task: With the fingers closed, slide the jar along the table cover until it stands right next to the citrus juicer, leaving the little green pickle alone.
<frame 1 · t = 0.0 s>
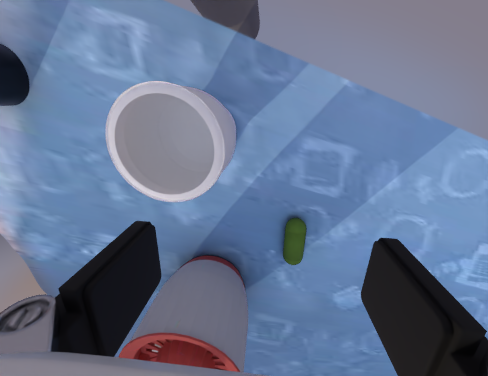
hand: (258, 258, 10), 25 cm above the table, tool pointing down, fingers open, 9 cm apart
citrus juicer: (208, 279, 43), on the table
jar: (208, 129, 33), on the table
water bottle: (3, 75, 34), on the table
pickle: (293, 236, 38), on the table
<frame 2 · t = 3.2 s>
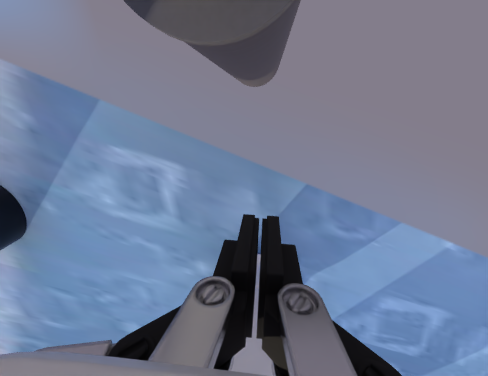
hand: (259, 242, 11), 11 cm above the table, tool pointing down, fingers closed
jar: (256, 280, 26), on the table
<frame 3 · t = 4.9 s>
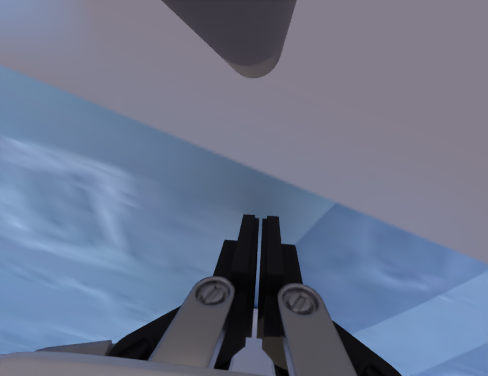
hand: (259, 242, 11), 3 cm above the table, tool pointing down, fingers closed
jar: (252, 342, 17), on the table
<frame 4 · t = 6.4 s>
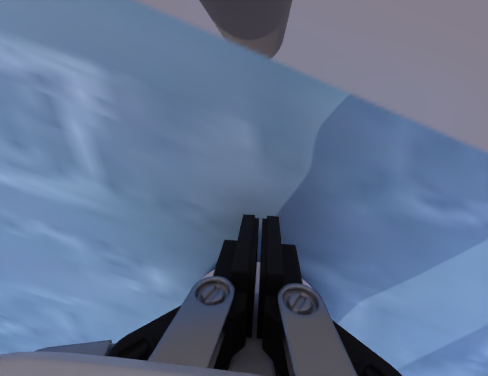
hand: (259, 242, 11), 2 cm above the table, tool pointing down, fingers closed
jar: (255, 309, 15), on the table, touching gripper
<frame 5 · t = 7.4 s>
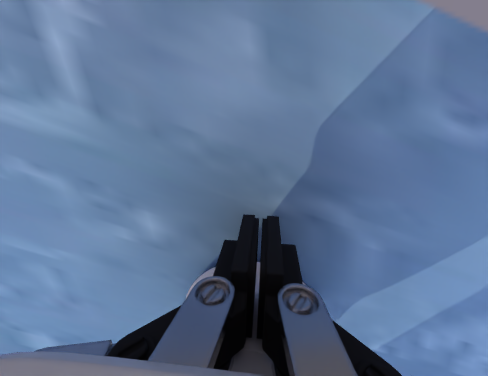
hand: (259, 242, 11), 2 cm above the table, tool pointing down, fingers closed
jar: (252, 309, 15), on the table, touching gripper
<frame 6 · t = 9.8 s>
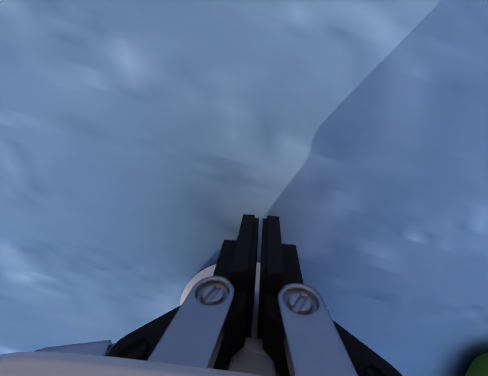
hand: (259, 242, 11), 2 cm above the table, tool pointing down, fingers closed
jar: (247, 309, 15), on the table, touching gripper
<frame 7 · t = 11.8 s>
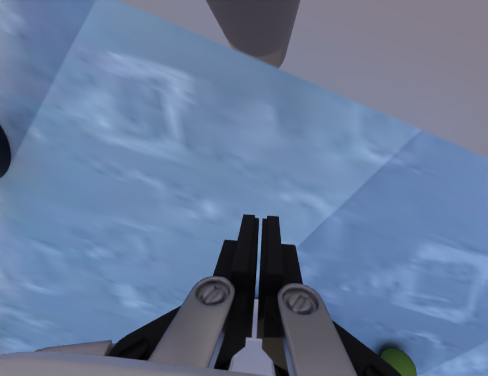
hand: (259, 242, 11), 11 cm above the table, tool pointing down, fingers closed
jar: (260, 324, 26), on the table
pickle: (385, 367, 26), on the table
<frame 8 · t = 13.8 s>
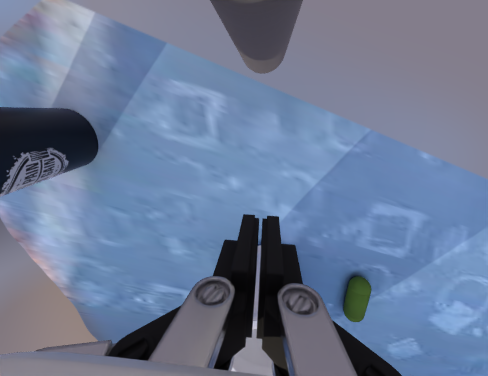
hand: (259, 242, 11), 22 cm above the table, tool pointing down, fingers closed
jar: (267, 263, 38), on the table
water bottle: (71, 138, 34), on the table
pickle: (353, 291, 38), on the table
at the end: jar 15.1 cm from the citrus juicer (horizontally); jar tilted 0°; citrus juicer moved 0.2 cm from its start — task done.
